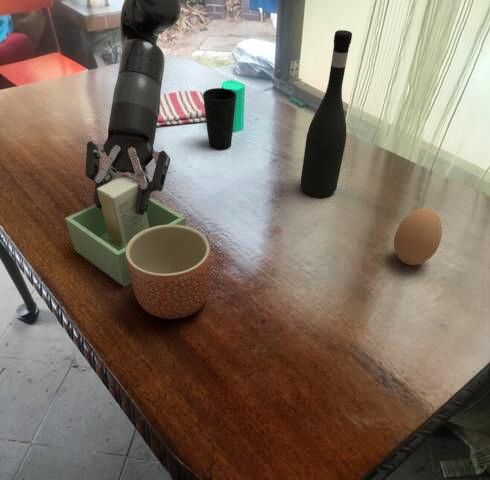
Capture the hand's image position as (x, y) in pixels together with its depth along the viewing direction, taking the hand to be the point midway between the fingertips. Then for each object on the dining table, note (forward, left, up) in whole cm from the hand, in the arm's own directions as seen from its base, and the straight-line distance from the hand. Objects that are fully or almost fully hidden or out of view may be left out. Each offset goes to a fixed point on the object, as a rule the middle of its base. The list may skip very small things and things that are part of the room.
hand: (119, 210), depth 75 cm
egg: (+34, -38, -9) cm, 52 cm away
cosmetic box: (+1, +1, -9) cm, 9 cm away
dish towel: (+47, +42, -9) cm, 64 cm away
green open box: (+1, +1, -9) cm, 9 cm away
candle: (+53, +24, -9) cm, 59 cm away
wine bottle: (+43, -11, -9) cm, 46 cm away
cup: (+43, +19, -9) cm, 48 cm away
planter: (-3, -15, -9) cm, 18 cm away
